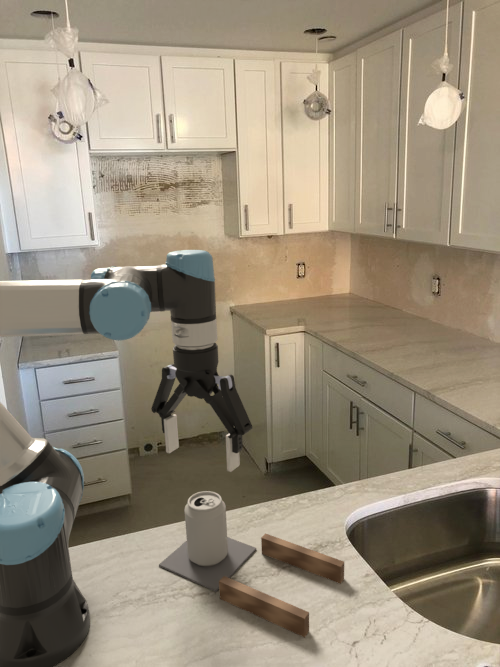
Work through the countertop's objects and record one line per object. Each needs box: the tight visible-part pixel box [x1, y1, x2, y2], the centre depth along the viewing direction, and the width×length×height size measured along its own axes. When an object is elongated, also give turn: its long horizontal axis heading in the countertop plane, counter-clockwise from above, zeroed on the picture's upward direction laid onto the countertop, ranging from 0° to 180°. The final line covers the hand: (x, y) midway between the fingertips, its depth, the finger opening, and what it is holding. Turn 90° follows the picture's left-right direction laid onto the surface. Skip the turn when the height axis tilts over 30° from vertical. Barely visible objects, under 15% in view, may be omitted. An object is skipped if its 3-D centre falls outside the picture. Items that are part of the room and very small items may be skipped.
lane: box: [218, 533, 345, 638], centre depth 93 cm, size 16×15×4 cm
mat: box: [158, 536, 257, 593], centre depth 102 cm, size 13×13×1 cm
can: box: [184, 490, 228, 566], centre depth 100 cm, size 8×8×12 cm
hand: (202, 458), depth 97 cm, fingers open, 13 cm apart
